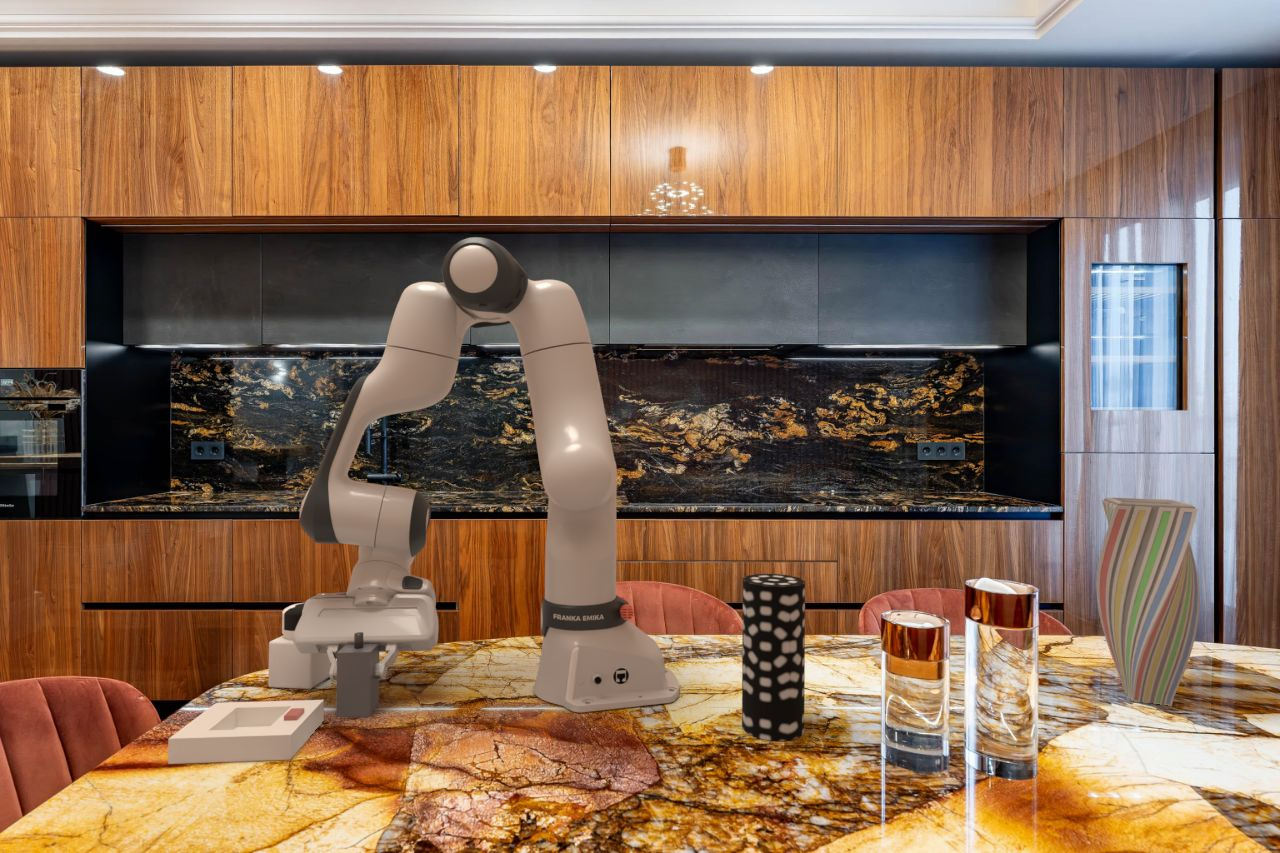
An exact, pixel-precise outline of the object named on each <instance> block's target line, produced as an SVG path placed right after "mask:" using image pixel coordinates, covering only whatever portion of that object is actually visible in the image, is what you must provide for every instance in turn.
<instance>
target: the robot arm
mask: <svg viewBox="0 0 1280 853" xmlns="http://www.w3.org/2000/svg"><path fill="white" fill-rule="evenodd" d="M441 274H442V275H441V276H442V281H443V282H435V281H434V282H433V281H418V282H415V283H412V284H410V285H408V286H407V287H406V288H404V290H403V292H402V293H401V295H400V297H399V300H398V302H397V305H396V308H395V309H394V310H395V311H394V312H393V313H394V314H393V316H392V319H391V323H390V324H389V325H390V326H389V328H388V329H389V330H388V334H387V339H386V343H385V345H386V346H385V347H384V348H385V349H384V352H383V355H382V358H381V359H380V361H379V362H378V364H377V366H376V367H375V368H374V370H373V371H372V372H370V374H367V375H363V376H359V378H358V379H357V380H356V382H355V383H354V385H353V386H352V388H351V389H350V391H349V394H348V395H347V397H346V400H345V402H344V404H343V407H342V409H341V412H340V413H339V416H338V418H337V421H336V424H335V425H334V428H333V432H332V434H331V436H330V439H329V441H328V444H327V447H326V449H325V451H324V454H323V457H322V460H321V462H320V464H319V468H318V469H317V472H316V474H315V477H314V479H313V480H312V483H311V485H310V486H309V488H308V490H307V491H306V494H305V495H304V496H303V499H302V502H301V505H300V509H299V525H300V527H301V529H302V531H303V532H304V533H305V534H306V535H307V536H308V537H309V538H310V539H311V540H312V541H313V542H315V543H316V544H330V545H332V544H333V545H341V544H344V545H345V544H346V545H354V546H359V547H358V552H357V553H358V559H357V562H356V563H355V565H354V566H353V568H352V572H351V576H350V579H349V582H348V586H347V590H346V592H332V593H330V592H329V593H327V592H321V593H320V592H319V593H317V594H316V595H314V596H311V597H310V598H308V599H307V600H305V602H304V603H305V604H304V607H303V610H302V616H301V618H300V620H299V622H298V624H297V626H296V629H295V631H294V634H293V642H294V644H295V646H296V648H297V649H298V650H299V652H300V653H303V654H307V653H327V654H328V657H329V660H330V662H331V668H330V672H329V680H331V681H337V652H338V651H340V650H341V649H342V648H343V647H344V646H345V645H346V644H354V634H355V633H357V632H363V643H380V644H379V653H380V652H381V653H384V652H385V653H386V655H385V656H384V657H383V659H381V661H379V663H375V664H374V670H373V677H374V679H379V680H385V679H386V678H387V677H386V676H387V672H388V669H389V668H390V667H391V666H392V665H393V663H394V662H395V661H396V660H397V659H398V658H399V652H429V651H430V652H431V650H433V649H434V648H435V647H436V646H437V645H438V639H439V629H440V628H439V615H438V612H437V608H436V605H437V600H436V598H437V596H436V592H435V589H434V586H433V584H432V582H431V580H429V579H427V578H423V577H420V576H416V575H413V574H411V566H412V565H413V562H414V560H415V558H416V556H417V555H418V554H419V553H420V552H421V551H422V550H423V549H425V546H426V543H427V542H426V541H427V532H428V528H429V525H430V522H431V516H432V507H431V505H430V504H429V501H428V500H427V499H426V497H425V496H424V495H423V493H422V492H420V490H417V489H416V490H415V489H412V488H407V487H401V486H394V485H389V484H388V485H383V484H377V483H369V482H364V481H358V480H354V479H351V478H350V477H349V474H348V473H349V470H350V468H351V466H352V463H353V460H354V458H355V455H356V452H357V451H358V448H359V445H360V443H361V440H362V438H363V435H364V432H365V431H366V430H367V428H368V427H369V425H371V423H373V422H374V421H377V420H379V419H381V418H383V417H386V416H391V415H397V414H401V413H408V412H414V411H418V410H422V409H427V408H429V407H432V406H434V405H435V404H438V403H440V402H441V401H442V400H444V398H446V397H447V396H448V394H449V393H450V391H451V390H452V387H453V385H454V381H455V377H456V374H457V371H458V365H459V360H460V356H461V348H462V345H463V341H464V337H465V334H466V332H467V330H468V329H469V328H470V327H471V328H474V329H479V328H487V327H499V326H504V325H508V324H511V325H512V326H513V329H514V330H515V333H516V336H517V340H518V344H519V349H520V355H521V360H522V365H523V370H524V371H523V372H524V374H525V376H524V377H525V379H526V385H527V386H526V387H527V389H528V390H527V391H528V394H529V400H530V405H531V411H532V420H533V428H534V436H535V442H536V450H537V455H538V456H537V457H538V462H539V470H540V474H541V480H542V486H543V488H544V492H545V493H546V495H547V497H548V505H547V522H546V523H547V524H546V538H545V551H544V552H545V553H544V554H545V555H544V558H545V559H544V596H543V597H542V601H541V605H540V607H541V608H540V630H541V634H542V643H541V644H542V646H541V654H540V659H539V666H538V671H537V674H536V677H535V678H536V679H535V682H534V684H533V688H532V689H533V690H532V691H533V693H534V695H535V696H536V697H537V698H539V699H540V700H542V701H545V702H548V703H551V704H555V705H559V706H562V707H564V708H566V709H567V710H569V711H571V712H575V713H589V712H597V711H605V710H606V711H607V710H617V709H625V708H632V707H643V706H644V707H645V706H651V705H661V704H669V703H673V702H675V701H676V700H677V699H678V697H679V696H680V684H679V680H678V678H677V676H676V675H675V674H674V672H673V671H671V670H670V669H668V668H666V666H665V660H664V656H663V652H662V650H661V649H660V646H659V644H658V643H657V642H656V641H655V640H654V639H653V638H652V637H650V636H649V635H648V634H647V633H645V631H643V630H642V629H640V628H639V627H638V626H636V625H635V624H634V623H632V621H630V620H632V618H633V617H634V614H635V612H634V609H633V606H632V605H631V604H630V603H629V602H628V600H626V599H625V598H624V597H623V596H622V597H621V596H619V595H617V491H618V490H617V489H618V488H617V485H618V483H617V482H618V469H617V463H616V462H617V461H616V459H615V454H614V450H613V445H612V441H611V440H612V439H611V435H610V430H609V425H608V420H607V415H606V409H605V405H604V400H603V395H602V389H601V384H600V380H599V375H598V370H597V364H596V360H595V355H594V349H593V345H592V340H591V336H590V332H589V327H588V325H587V321H586V318H585V315H584V311H583V310H582V306H581V304H580V301H579V299H578V296H577V294H576V292H575V291H574V289H573V288H572V287H571V286H570V285H569V284H567V283H566V282H563V281H561V280H558V279H557V280H556V279H540V280H532V279H529V276H528V273H527V272H526V271H525V269H524V268H523V267H522V266H521V264H519V263H518V261H517V260H516V259H515V258H514V256H512V254H511V253H510V251H508V250H507V248H505V247H504V246H503V245H501V244H499V243H498V242H497V241H495V240H492V239H489V238H487V237H486V238H485V237H480V236H479V237H478V236H473V237H467V238H465V239H461V240H459V241H458V242H456V243H455V244H453V245H452V246H451V248H450V249H449V250H448V251H447V253H446V255H445V257H444V259H443V262H442V267H441Z"/></svg>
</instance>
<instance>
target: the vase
mask: <svg viewBox="0 0 1280 853" xmlns="http://www.w3.org/2000/svg"><path fill="white" fill-rule="evenodd" d="M1101 502H1102V506H1103V510H1104V513H1105V516H1106V520H1107V529H1106V533H1105V536H1104V539H1103V544H1102V547H1101V550H1100V555H1099V558H1098V562H1097V563H1098V564H1097V569H1096V580H1095V581H1096V583H1095V588H1096V591H1095V592H1096V603H1097V609H1098V614H1099V620H1100V624H1101V627H1102V632H1103V634H1104V638H1105V640H1106V643H1107V646H1108V649H1109V653H1110V655H1111V657H1112V660H1113V663H1114V666H1115V668H1116V671H1117V673H1118V676H1119V679H1120V682H1121V687H1122V691H1123V690H1124V691H1123V692H1124V694H1126V696H1127V697H1128V698H1129V699H1130V701H1131V700H1132V701H1131V702H1133V701H1134V703H1142V702H1143V703H1142V704H1149V703H1150V704H1151V703H1153V704H1152V705H1156V704H1160V705H1159V706H1164V705H1168V706H1167V707H1172V706H1173V703H1174V699H1175V696H1176V693H1177V690H1178V688H1179V686H1180V684H1181V681H1182V679H1183V677H1184V673H1185V671H1186V668H1187V666H1188V663H1189V660H1190V658H1191V654H1192V652H1193V651H1192V650H1193V648H1194V643H1195V639H1196V634H1197V629H1198V623H1199V615H1200V586H1199V584H1200V582H1199V576H1198V568H1197V565H1196V560H1195V557H1194V553H1193V550H1192V545H1191V542H1190V539H1191V535H1192V533H1193V532H1192V531H1193V529H1194V525H1195V522H1196V518H1197V513H1198V508H1196V506H1193V504H1189V503H1186V502H1183V501H1178V500H1175V499H1162V498H1161V499H1160V498H1159V499H1158V498H1136V497H1135V498H1133V497H1131V498H1130V497H1106V496H1105V498H1103V499H1102V500H1101Z"/></svg>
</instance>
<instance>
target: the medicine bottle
mask: <svg viewBox="0 0 1280 853" xmlns="http://www.w3.org/2000/svg"><path fill="white" fill-rule="evenodd" d="M304 604H305V602H300V603H294V604H291V605H289V606H287V607H285V608H284V609H283V610H282V611H281V612H282V613H281V615H282V617H281V618H282V619H281V633H282V634H283V635H281V636H279V637H276V638H274V639H272V640H271V641H269V642H268V687H269V688H277V689H278V688H280V689H282V688H283V689H302V690H303V689H304V690H305V689H306V690H311V689H314V688H315V687H316V686H318V685H319V684H321V683H322V682H324V681H326V680H327V679H330V677H329V672H330V668H331V662H330V660H329V657H328V654H327V653H307V654H303V653H300V652H299V650H298V649H297V648H296V646H295V644H294V642H293V634H294V631H295V629H296V626H297V624H298V622H299V620H300V618H301V616H302V610H303V607H304Z"/></svg>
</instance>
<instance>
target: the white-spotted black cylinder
mask: <svg viewBox="0 0 1280 853" xmlns="http://www.w3.org/2000/svg"><path fill="white" fill-rule="evenodd" d="M805 634H806V580H805V579H803V578H801V577H798V576H794V575H788V574H779V573H755V574H749V575H745V576H744V577H743V578H742V637H741V638H742V641H741V642H742V643H741V644H742V648H741V650H742V652H741V653H742V654H741V656H742V659H741V660H742V665H741V669H742V673H741V675H742V676H741V677H742V678H741V681H742V684H741V686H742V687H741V689H742V690H741V695H742V696H741V708H742V709H741V727H742V729H743V731H744V732H745V733H746V734H749V735H750V736H752V737H755V738H757V739H761V740H766V741H771V742H783V741H784V742H785V741H786V742H787V741H792V740H795V739H798V738H800V737H802V736H803V735H804V733H805V702H806V700H805V691H806V689H805V686H806V685H805V684H806V683H805V682H806V681H805V678H806V676H805V675H806V674H805V671H806V669H805V668H806V666H805V663H806V661H805V659H806V658H805V655H806V654H805V653H806V652H805V651H806V649H805V648H806V647H805V646H806V642H805V641H806V637H805V636H806V635H805Z"/></svg>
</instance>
